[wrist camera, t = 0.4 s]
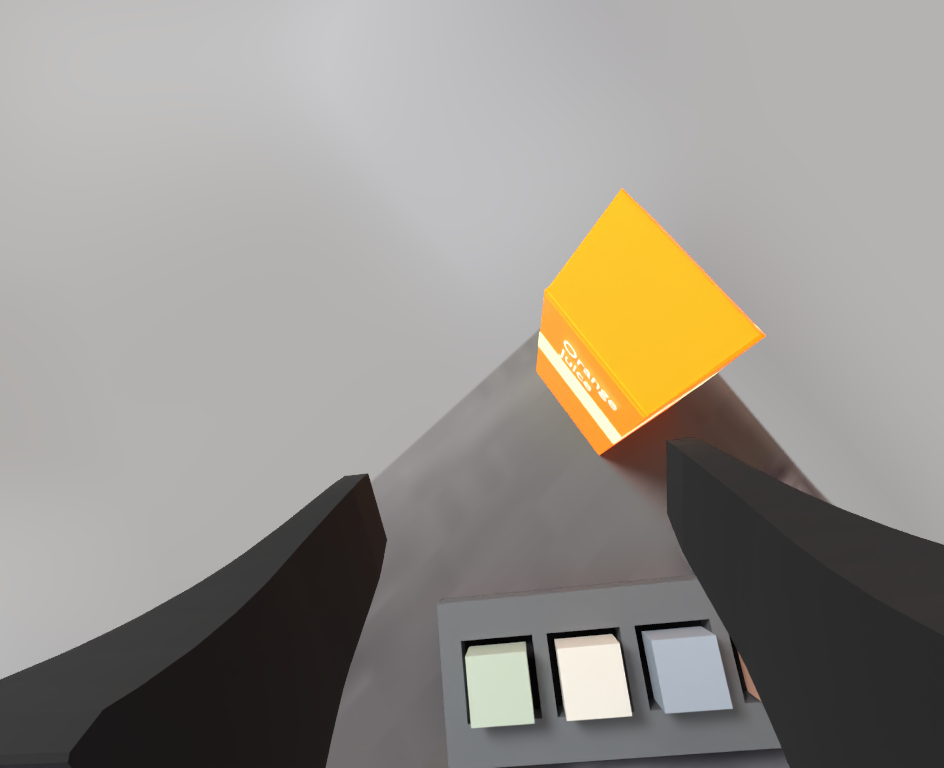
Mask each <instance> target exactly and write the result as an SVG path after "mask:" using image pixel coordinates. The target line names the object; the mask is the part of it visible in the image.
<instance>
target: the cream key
mask: <svg viewBox="0 0 944 768" xmlns="http://www.w3.org/2000/svg"><path fill="white" fill-rule="evenodd" d="M554 641H555V649H556V656H557V663H558V670H559V677H560V685H561V692H562V699H563V706H564V710H565V715H566V719H567V721H575V720H588V719H602V718H615V717H628V716H632V712H631V706H630V700H629V695H628V689H627V683H626V677H625V672H624V666H623V660H622V655H621V649H620V643H619V642H618V641H617V640H616V638H615V637H614V636H613V634H606V635H595V636H583V637H572V638H561V639H554Z"/></svg>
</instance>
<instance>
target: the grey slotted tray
mask: <svg viewBox="0 0 944 768" xmlns="http://www.w3.org/2000/svg"><path fill="white" fill-rule="evenodd" d="M437 614H438V627H439V641H440V655H441V669H442V683H443V697H444V710H445V724H446V738H447V752H448V766H449V768H497V767H512V766H526V765H541V764H556V763H570V762H585V761H599V760H614V759H628V758H643V757H657V756H672V755H686V754H701V753H715V752H730V751H744V750H759V749H773V748H781V745H780V743H779V741H778V738H777V736H776V734H775V731H774V729H773V727H772V724H771V722H770V719H769V717H768V715H767V713H766V710H765V708H764V706H763V704H762V702H761V701H760V700H758V699H757V698H756V697H755V696H753V695H752V694H751V693H749V692H748V691H742V688H741V684H740V680H739V675H738V671H737V667H736V663H735V659H734V655H733V650H732V646H731V642H730V638H729V634H728V632H727V630H726V628H725V627H724V625H723V623H722V621H721V620H720V618H719V616H718V614H717V612H716V611H715V609H714V607H713V605H712V604H711V602H710V600H709V598H708V597H707V595H706V593H705V591H704V590H703V588H702V586H701V584H700V582H699V581H698V579H697V577H696V575H692V576H681V577H671V578H660V579H650V580H639V581H629V582H618V583H608V584H597V585H587V586H577V587H566V588H556V589H545V590H535V591H524V592H514V593H503V594H493V595H482V596H472V597H462V598H451V599H441V600H440V601H439V602H438V603H437ZM692 620H700V622H701V627H703V628H705V629H706V630H708V631H710V632H711V633H713V634H715V635H716V638H717V642H718V647H719V651H720V655H721V660H722V664H723V668H724V673H725V677H726V681H727V686H728V690H729V694H730V698H731V703H732V707H733V709H721V710H708V711H695V712H681V713H668V714H665V712H664V711H663V710H662V708H661V707H660V706H659V704H658V703H657V702H656V700H655V699H654V698H649V699H648V697H647V691H646V686H645V681H644V675H643V670H642V664H641V659H640V654H639V648H638V643H637V638H636V632H635V627H634V626H636V625H647V624H658V623H670V622H681V621H692ZM613 627H615V630H616V636H617V641H618V642H619V643H620V649H621V655H622V660H623V666H624V672H625V677H626V683H627V689H628V695H629V700H630V706H631V712H632V716H628V717H615V718H602V719H588V720H575V721H567V719H566V715H565V710H564V706H563V705H559V706H556V702H555V694H554V687H553V679H552V672H551V664H550V657H549V650H548V642H547V635H546V633H557V632H568V631H580V630H591V629H602V628H613ZM523 635H532V640H533V647H534V655H535V663H536V671H537V679H538V687H539V695H540V703H541V707H534V720H535V724H522V725H509V726H495V727H482V728H471V720H470V708H469V697H468V685H467V673H466V662H465V656H466V650H465V641H467V640H478V639H490V638H501V637H512V636H523Z"/></svg>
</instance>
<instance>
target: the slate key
mask: <svg viewBox="0 0 944 768" xmlns="http://www.w3.org/2000/svg"><path fill="white" fill-rule="evenodd" d="M641 632H642V637H643V642H644V648H645V653H646V658H647V663H648V669H649V674H650V679H651V685H652V690H653V695H654V699H655V700H656V702H657V703H658V704H659V706H660V707H661V708H662V710H663V711H664V712H665V714H668V713H681V712H695V711H708V710H721V709H733V707H732V703H731V698H730V694H729V690H728V686H727V681H726V677H725V673H724V668H723V664H722V660H721V655H720V651H719V647H718V642H717V638H716V635H715V634H713V633H711V632H710V631H708V630H706V629H705V628H703V627H701V626H697V627H686V628H674V629H663V630H652V631H641Z"/></svg>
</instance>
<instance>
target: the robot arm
mask: <svg viewBox="0 0 944 768" xmlns="http://www.w3.org/2000/svg"><path fill="white" fill-rule="evenodd" d="M666 446H667V514H668V517H669V519H670V522H671V524H672V527H673V530H674V532H675V535H676V537H677V540H678V542H679V544H680V547H681V549H682V552H683V553H684V555H685V557H686V559H687V561H688V563H689V564H690V566H691V568H692V570H693V572H694V573H695V575H696V577H697V579H698V581H699V582H700V584H701V586H702V588H703V590H704V591H705V593H706V595H707V597H708V598H709V600H710V602H711V604H712V605H713V607H714V609H715V611H716V612H717V614H718V616H719V618H720V620H721V621H722V623H723V625H724V627H725V628H726V630H727V632H728V634H729V635H730V637H731V639H732V641H733V643H734V644H735V646H736V648H737V650H738V652H739V654H740V656H741V658H742V660H743V662H744V664H745V666H746V668H747V670H748V672H749V675H750V677H751V679H752V681H753V684H754V686H755V688H756V690H757V693H758V695H759V697H760V699H761V702H762V704H763V706H764V708H765V710H766V713H767V715H768V717H769V719H770V722H771V724H772V727H773V729H774V731H775V734H776V736H777V738H778V741H779V743H780V745H781V748H782V750H783V752H784V755H785V757H786V759H787V762H788V764H789V766H790V768H944V545H942V544H939V543H936V542H933V541H930V540H926V539H923V538H920V537H917V536H914V535H911V534H908V533H905V532H902V531H899V530H896V529H893V528H890V527H888V526H885V525H882V524H880V523H877V522H875V521H872V520H869V519H867V518H864V517H861V516H859V515H856V514H853V513H851V512H848V511H846V510H843V509H841V508H838V507H836V506H833V505H831V504H829V503H826V502H824V501H822V500H820V499H817V498H815V497H813V496H811V495H808V494H806V493H804V492H802V491H800V490H797V489H795V488H793V487H791V486H789V485H787V484H785V483H783V482H781V481H778V480H776V479H774V478H772V477H770V476H768V475H766V474H764V473H763V472H761V471H759V470H757V469H755V468H753V467H751V466H749V465H747V464H745V463H743V462H741V461H739V460H738V459H736V458H734V457H732V456H730V455H728V454H726V453H724V452H722V451H721V450H719V449H717V448H715V447H713V446H711V445H709V444H707V443H705V442H703V441H701V440H699V439H696V438H685V439H675V440H666ZM386 542H387V538H386V535H385V531H384V528H383V524H382V521H381V517H380V514H379V510H378V507H377V503H376V500H375V496H374V493H373V489H372V486H371V482H370V479H369V475H368V474H360V475H352V476H344V477H343V478H341V479H340V480H338V481H337V482H335V483H334V484H333V485H332V486H330V487H329V488H328V489H326V490H325V491H324V492H323V493H321V494H320V495H319V496H318V497H316V498H315V499H314V500H313V501H311V502H310V503H309V504H308V505H306V506H305V507H304V508H303V509H301V510H300V511H299V512H298V513H296V514H295V515H294V516H293V517H292V518H290V519H289V520H288V521H286V522H285V523H284V524H283V525H281V526H280V527H279V528H277V529H276V530H275V531H273V532H272V533H271V534H269V535H268V536H267V537H266V538H264V539H263V540H261V541H260V542H259V543H257V544H256V545H255V546H253V547H252V548H251V549H249V550H248V551H247V552H245V553H244V554H243V555H241V556H239V557H238V558H237V559H235V560H234V561H232V562H231V563H229V564H228V565H226V566H225V567H223V568H222V569H220V570H218V571H217V572H215V573H214V574H212V575H211V576H209V577H207V578H206V579H204V580H203V581H201V582H200V583H198V584H196V585H195V586H193V587H192V588H190V589H188V590H186V591H184V592H182V593H181V594H179V595H177V596H175V597H174V598H172V599H170V600H168V601H166V602H165V603H163V604H161V605H159V606H157V607H156V608H154V609H152V610H150V611H149V612H147V613H145V614H143V615H141V616H139V617H137V618H135V619H133V620H131V621H129V622H128V623H126V624H124V625H121V626H120V627H118V628H116V629H114V630H112V631H110V632H107V633H105V634H103V635H101V636H99V637H97V638H95V639H93V640H91V641H88V642H86V643H84V644H82V645H80V646H78V647H76V648H73V649H71V650H69V651H67V652H65V653H63V654H60V655H58V656H56V657H53V658H51V659H48V660H46V661H44V662H42V663H39V664H36V665H34V666H32V667H29V668H27V669H25V670H22V671H20V672H17V673H15V674H13V675H10V676H8V677H6V678H3V679H1V680H0V768H325V767H326V763H327V758H328V753H329V748H330V744H331V739H332V734H333V730H334V726H335V722H336V717H337V713H338V709H339V705H340V700H341V696H342V692H343V688H344V684H345V681H346V678H347V674H348V671H349V667H350V664H351V662H352V659H353V656H354V653H355V650H356V647H357V644H358V641H359V638H360V635H361V632H362V629H363V626H364V623H365V620H366V617H367V614H368V612H369V609H370V606H371V603H372V599H373V596H374V593H375V590H376V587H377V584H378V581H379V578H380V573H381V569H382V564H383V559H384V553H385V547H386Z"/></svg>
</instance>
